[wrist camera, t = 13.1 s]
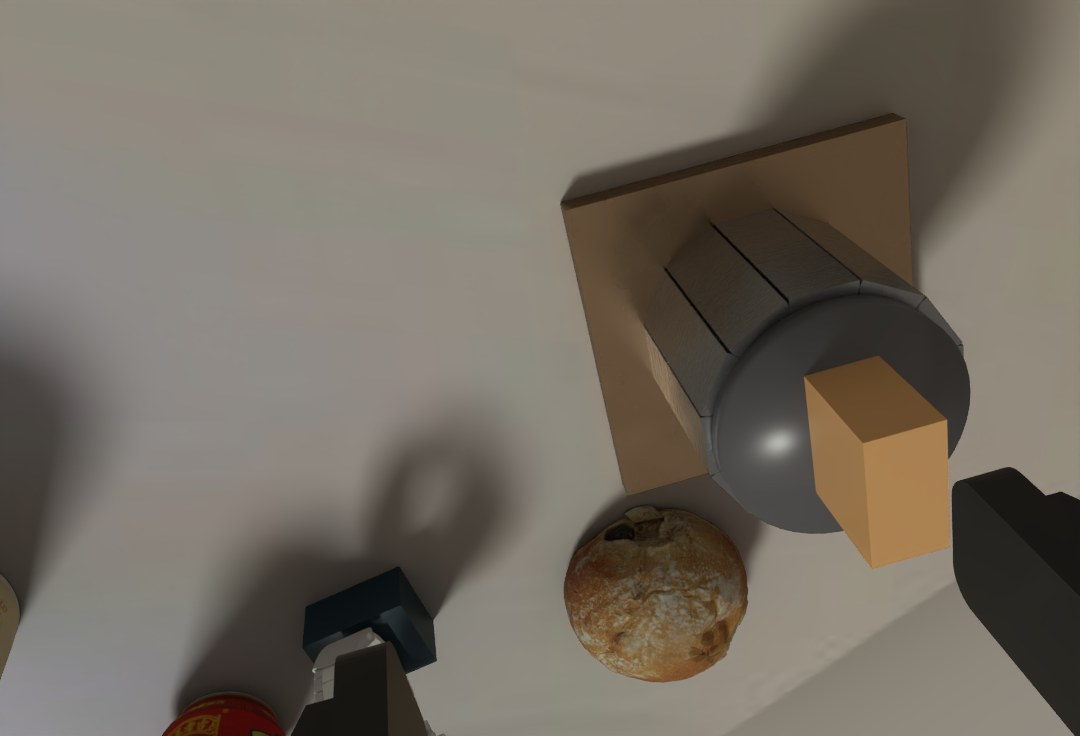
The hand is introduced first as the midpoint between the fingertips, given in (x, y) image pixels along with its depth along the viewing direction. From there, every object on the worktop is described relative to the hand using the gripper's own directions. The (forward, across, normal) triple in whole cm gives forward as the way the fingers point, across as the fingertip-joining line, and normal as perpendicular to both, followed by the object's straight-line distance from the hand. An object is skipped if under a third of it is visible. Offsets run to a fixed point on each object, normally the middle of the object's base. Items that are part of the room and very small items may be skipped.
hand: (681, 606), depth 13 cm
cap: (+23, -11, +13) cm, 29 cm away
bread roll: (+32, -4, +28) cm, 43 cm away
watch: (+32, +12, +25) cm, 43 cm away
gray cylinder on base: (+32, -11, +13) cm, 36 cm away
